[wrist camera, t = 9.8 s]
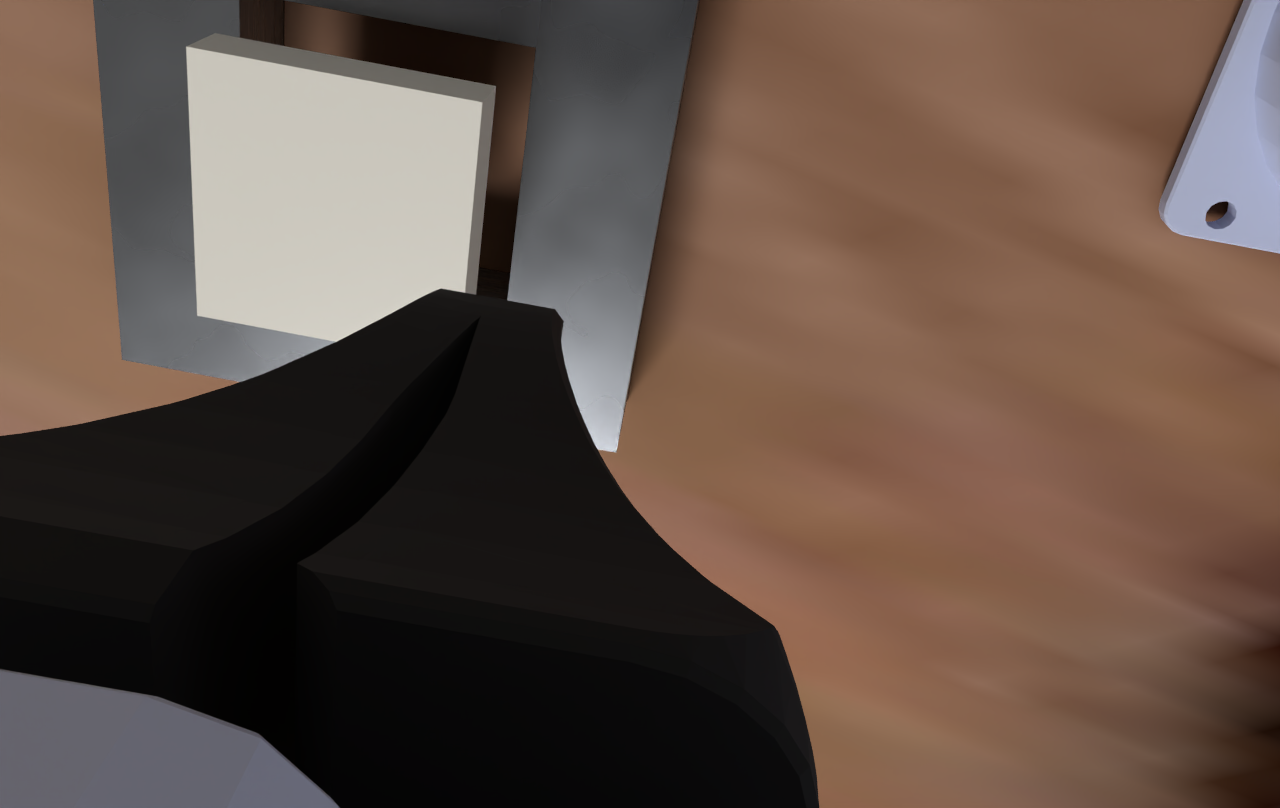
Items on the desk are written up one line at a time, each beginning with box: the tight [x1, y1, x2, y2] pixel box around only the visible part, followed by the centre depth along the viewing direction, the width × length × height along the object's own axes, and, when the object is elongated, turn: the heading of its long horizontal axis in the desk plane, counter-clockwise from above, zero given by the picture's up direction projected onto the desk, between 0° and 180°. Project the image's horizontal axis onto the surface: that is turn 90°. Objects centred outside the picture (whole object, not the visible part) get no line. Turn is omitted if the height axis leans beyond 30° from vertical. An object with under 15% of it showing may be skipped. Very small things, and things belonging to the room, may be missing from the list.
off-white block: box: [186, 33, 496, 342], centre depth 19 cm, size 4×4×3 cm
